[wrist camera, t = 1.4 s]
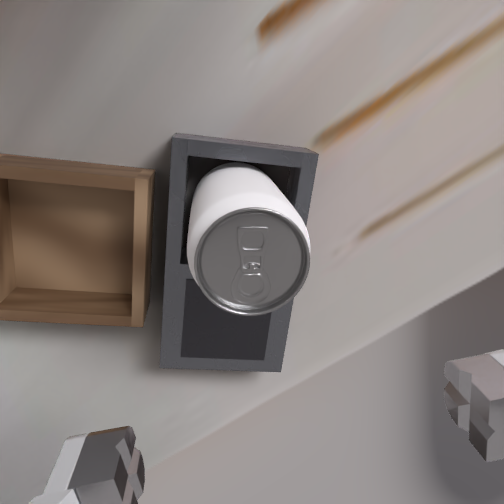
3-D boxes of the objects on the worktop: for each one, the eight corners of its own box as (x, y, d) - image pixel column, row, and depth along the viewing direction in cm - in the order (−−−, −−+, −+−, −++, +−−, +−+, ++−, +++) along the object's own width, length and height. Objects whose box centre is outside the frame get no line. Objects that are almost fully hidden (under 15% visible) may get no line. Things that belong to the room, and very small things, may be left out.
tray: (175, 132, 28) (171, 137, 25) (306, 148, 30) (319, 154, 26) (163, 342, 34) (159, 368, 31) (273, 347, 35) (281, 372, 32)
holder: (-5, 153, 28) (-37, 161, 24) (155, 169, 29) (148, 179, 25) (8, 293, 31) (-18, 319, 28) (149, 301, 33) (142, 327, 29)
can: (192, 245, 31) (186, 325, 20) (190, 160, 29) (182, 198, 18) (275, 244, 32) (313, 321, 21) (279, 161, 30) (324, 198, 19)
